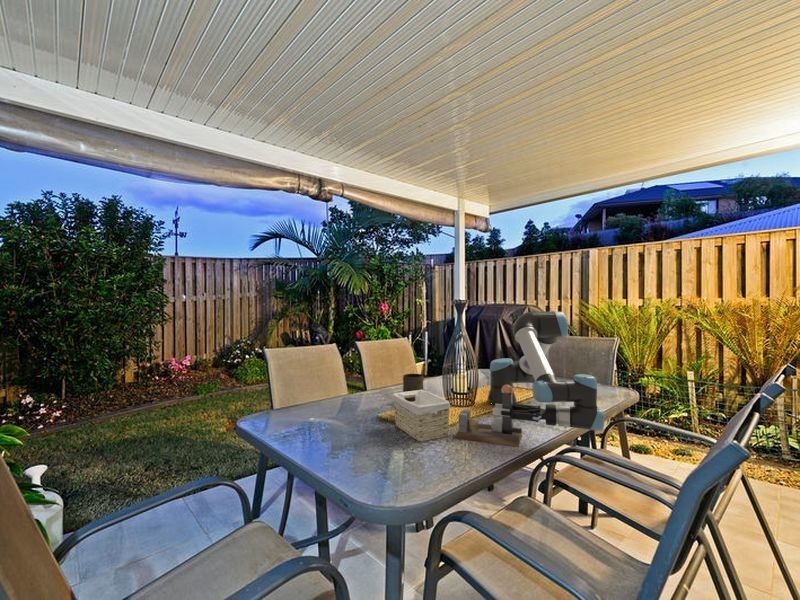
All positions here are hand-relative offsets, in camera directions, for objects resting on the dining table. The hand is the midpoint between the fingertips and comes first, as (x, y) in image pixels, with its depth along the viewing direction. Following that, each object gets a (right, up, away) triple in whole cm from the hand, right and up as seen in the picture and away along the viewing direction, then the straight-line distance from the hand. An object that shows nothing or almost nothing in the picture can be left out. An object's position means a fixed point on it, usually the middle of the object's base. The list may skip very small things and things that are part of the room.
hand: (494, 409), depth 149 cm
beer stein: (-30, -12, +33) cm, 46 cm away
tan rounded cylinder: (-8, -10, +3) cm, 13 cm away
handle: (+3, -9, -1) cm, 10 cm away
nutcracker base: (-2, -12, +1) cm, 12 cm away
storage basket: (-29, -12, +9) cm, 33 cm away
